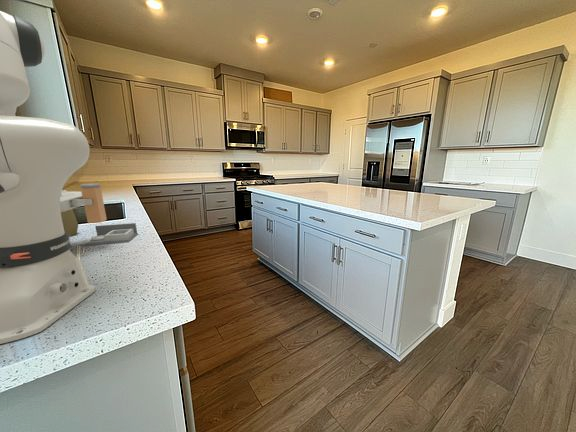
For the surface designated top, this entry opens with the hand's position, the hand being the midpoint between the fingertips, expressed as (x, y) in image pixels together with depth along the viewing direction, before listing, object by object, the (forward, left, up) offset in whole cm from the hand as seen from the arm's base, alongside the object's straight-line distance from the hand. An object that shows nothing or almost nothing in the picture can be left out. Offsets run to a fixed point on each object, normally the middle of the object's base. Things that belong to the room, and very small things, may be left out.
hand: (96, 200), depth 82 cm
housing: (+9, +1, -17) cm, 19 cm away
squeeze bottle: (+22, +22, -17) cm, 36 cm away
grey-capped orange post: (0, +1, -7) cm, 7 cm away
